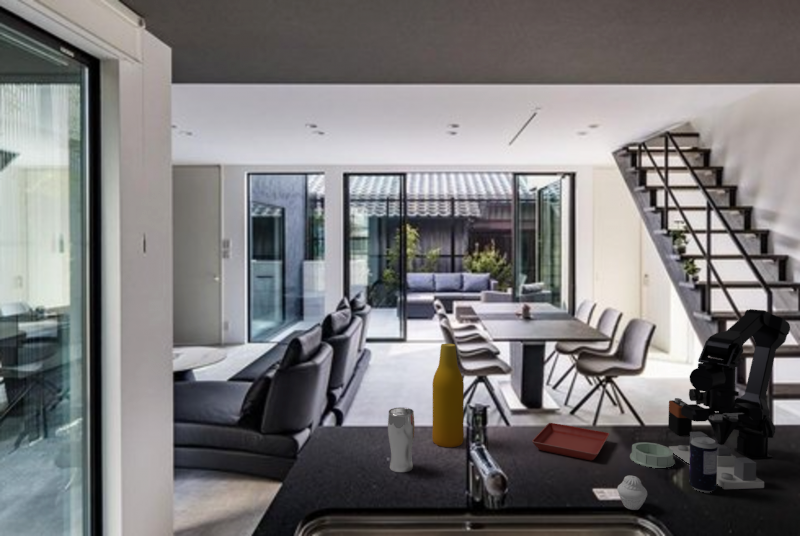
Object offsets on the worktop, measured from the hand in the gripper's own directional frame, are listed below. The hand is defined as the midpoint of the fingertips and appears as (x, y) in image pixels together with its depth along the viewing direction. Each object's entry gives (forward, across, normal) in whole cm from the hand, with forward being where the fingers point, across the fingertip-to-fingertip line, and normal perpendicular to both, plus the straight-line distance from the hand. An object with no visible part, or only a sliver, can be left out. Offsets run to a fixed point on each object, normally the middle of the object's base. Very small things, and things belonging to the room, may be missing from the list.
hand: (720, 444), depth 138 cm
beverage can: (+6, +12, +11) cm, 18 cm away
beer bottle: (+6, +68, -23) cm, 72 cm away
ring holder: (+6, +15, -6) cm, 17 cm away
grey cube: (+3, 0, 0) cm, 3 cm away
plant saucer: (+7, +33, -17) cm, 38 cm away
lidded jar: (+6, +33, +18) cm, 38 cm away
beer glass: (+6, +83, -6) cm, 84 cm away
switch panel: (+6, +2, 0) cm, 7 cm away
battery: (+6, -5, -26) cm, 27 cm away
